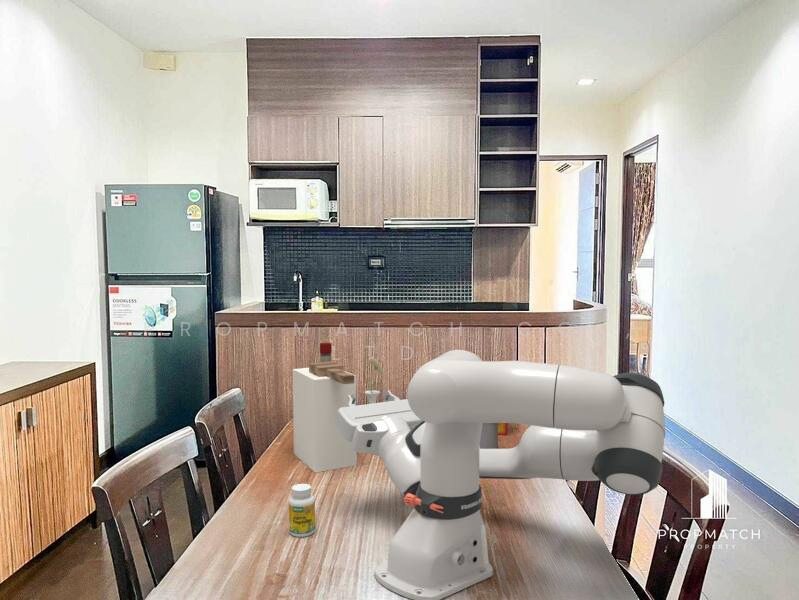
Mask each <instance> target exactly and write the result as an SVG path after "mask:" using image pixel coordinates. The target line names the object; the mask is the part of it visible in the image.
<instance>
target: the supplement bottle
mask: <svg viewBox="0 0 799 600" xmlns="http://www.w3.org/2000/svg"><path fill="white" fill-rule="evenodd" d="M315 499H316V498H315V497H314V495H312V486H311V485H310V484H308V483H298V484H294V485H293V486H291V496H290V497H289V499H288V521H289V522H288V527H289V528H288V529H289V530H288V531H289V534H290V535H291V536H294V537H297V538H304V537H308V536H311V535H313V534H314V533H315V531H316V500H315Z"/></svg>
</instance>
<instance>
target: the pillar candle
mask: <svg viewBox="0 0 799 600" xmlns="http://www.w3.org/2000/svg"><path fill="white" fill-rule="evenodd" d="M480 449H499V435H498V423H483V424H482V431H481V438H480Z"/></svg>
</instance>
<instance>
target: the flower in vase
mask: <svg viewBox="0 0 799 600" xmlns="http://www.w3.org/2000/svg"><path fill="white" fill-rule="evenodd" d="M369 360H370V362H371V365H372V367H373V370H372V372H371V374H370V377H369V378H368V381H369V388H370V390H365V391H364V394H365V396H366V398H367V402H368V404H373V403H377V399H378V397H379V394H380V393H381V391H380V390H373V387H374V386H376V385H377V382H374V383H372V376H373V373H374V371H376V372H377V374H379V375H380V377H383V378H384V377H385V375H386V374H385V371H384V369H383V368H382V365H381V363H380V362H378V360H377V359H376V357H373V356H371V357H370V358H369Z"/></svg>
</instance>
